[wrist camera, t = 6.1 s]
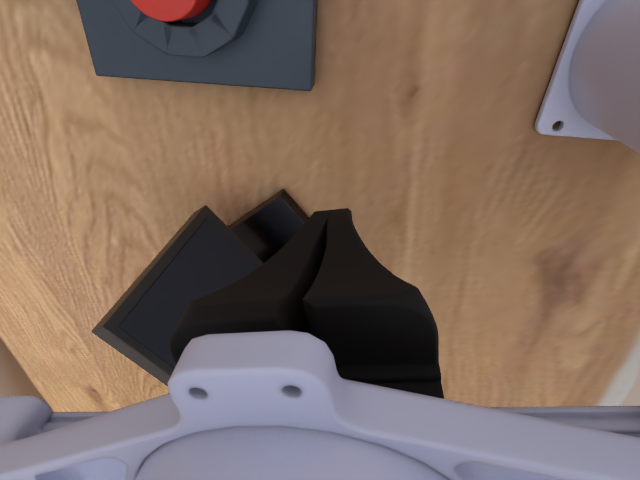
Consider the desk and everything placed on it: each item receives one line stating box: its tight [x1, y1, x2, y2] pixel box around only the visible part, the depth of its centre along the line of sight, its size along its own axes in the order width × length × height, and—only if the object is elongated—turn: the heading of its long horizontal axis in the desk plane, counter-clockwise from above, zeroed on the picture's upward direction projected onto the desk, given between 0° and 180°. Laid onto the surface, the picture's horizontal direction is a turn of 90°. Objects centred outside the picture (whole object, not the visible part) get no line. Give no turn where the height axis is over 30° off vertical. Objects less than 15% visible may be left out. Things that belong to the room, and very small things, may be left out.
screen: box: [92, 205, 264, 386], centre depth 22 cm, size 2×15×8 cm, turn 37°
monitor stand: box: [228, 189, 309, 263], centre depth 26 cm, size 9×10×4 cm
